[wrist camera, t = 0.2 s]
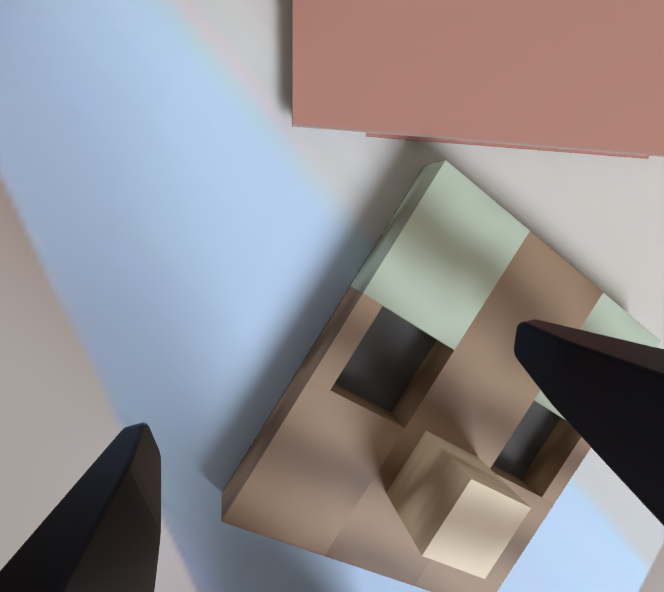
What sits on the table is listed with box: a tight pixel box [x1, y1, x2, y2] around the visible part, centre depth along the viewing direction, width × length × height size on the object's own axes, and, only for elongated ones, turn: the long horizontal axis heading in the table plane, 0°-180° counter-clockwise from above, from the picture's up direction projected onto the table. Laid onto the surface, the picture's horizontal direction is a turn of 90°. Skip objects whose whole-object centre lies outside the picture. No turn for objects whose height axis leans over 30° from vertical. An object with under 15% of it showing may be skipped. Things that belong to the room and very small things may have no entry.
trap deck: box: [221, 160, 661, 592], centre depth 28 cm, size 25×23×2 cm
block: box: [386, 431, 531, 579], centre depth 24 cm, size 5×5×5 cm
